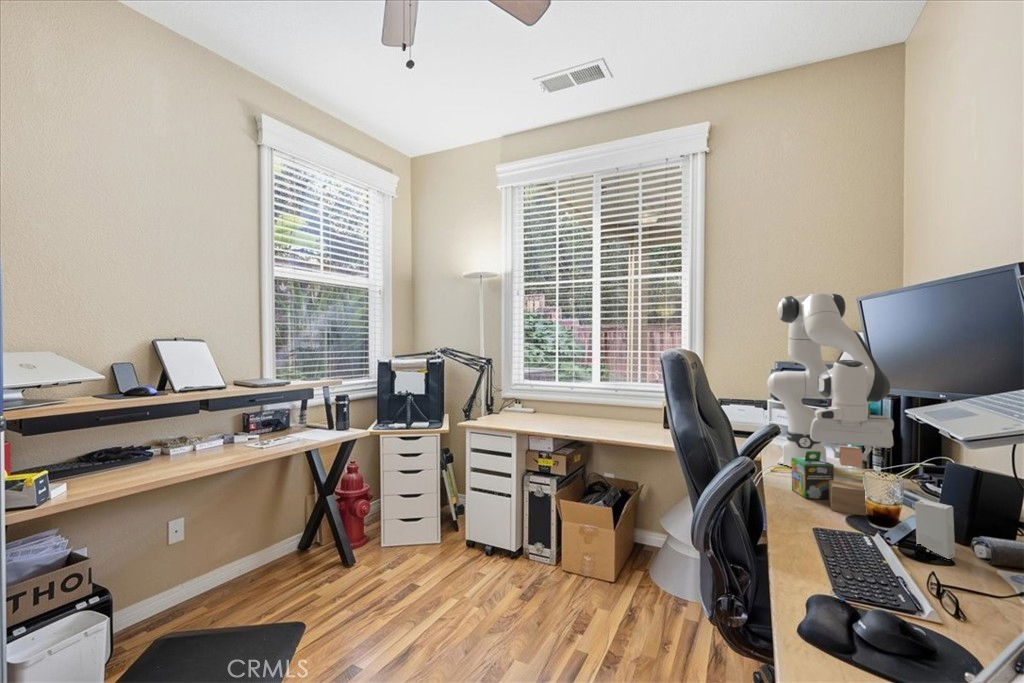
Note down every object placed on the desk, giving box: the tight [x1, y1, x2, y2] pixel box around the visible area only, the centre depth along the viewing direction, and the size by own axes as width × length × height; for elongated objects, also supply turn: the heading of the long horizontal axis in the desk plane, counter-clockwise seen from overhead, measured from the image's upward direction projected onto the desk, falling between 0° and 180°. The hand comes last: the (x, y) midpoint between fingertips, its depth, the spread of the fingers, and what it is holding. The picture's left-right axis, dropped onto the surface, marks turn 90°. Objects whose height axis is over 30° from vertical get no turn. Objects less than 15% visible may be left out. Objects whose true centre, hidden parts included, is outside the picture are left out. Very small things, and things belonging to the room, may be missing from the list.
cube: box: [838, 445, 863, 468], centre depth 137 cm, size 5×5×5 cm
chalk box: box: [791, 451, 835, 500], centre depth 150 cm, size 9×9×15 cm
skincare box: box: [914, 498, 956, 560], centre depth 108 cm, size 6×4×12 cm
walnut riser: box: [828, 479, 867, 517], centre depth 137 cm, size 8×10×7 cm
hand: (850, 459), depth 137 cm, fingers closed on cube, 5 cm apart
